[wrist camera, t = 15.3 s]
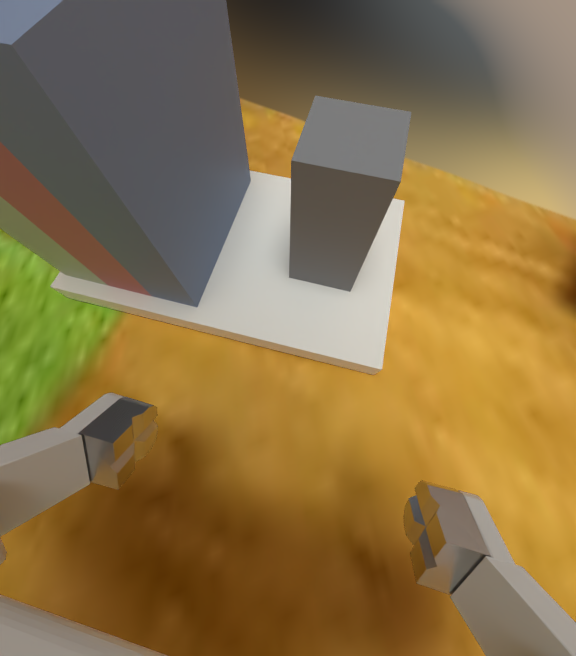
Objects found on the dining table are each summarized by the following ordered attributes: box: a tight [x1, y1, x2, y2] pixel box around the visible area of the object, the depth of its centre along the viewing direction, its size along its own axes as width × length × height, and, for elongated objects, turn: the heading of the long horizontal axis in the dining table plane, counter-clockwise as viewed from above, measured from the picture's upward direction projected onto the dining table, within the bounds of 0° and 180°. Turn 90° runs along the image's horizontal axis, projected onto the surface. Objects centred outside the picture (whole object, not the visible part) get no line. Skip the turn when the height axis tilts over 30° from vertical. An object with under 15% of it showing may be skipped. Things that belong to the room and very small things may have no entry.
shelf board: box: [0, 0, 404, 375], centre depth 13 cm, size 21×13×14 cm, turn 75°
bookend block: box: [289, 96, 411, 292], centre depth 14 cm, size 4×4×8 cm
